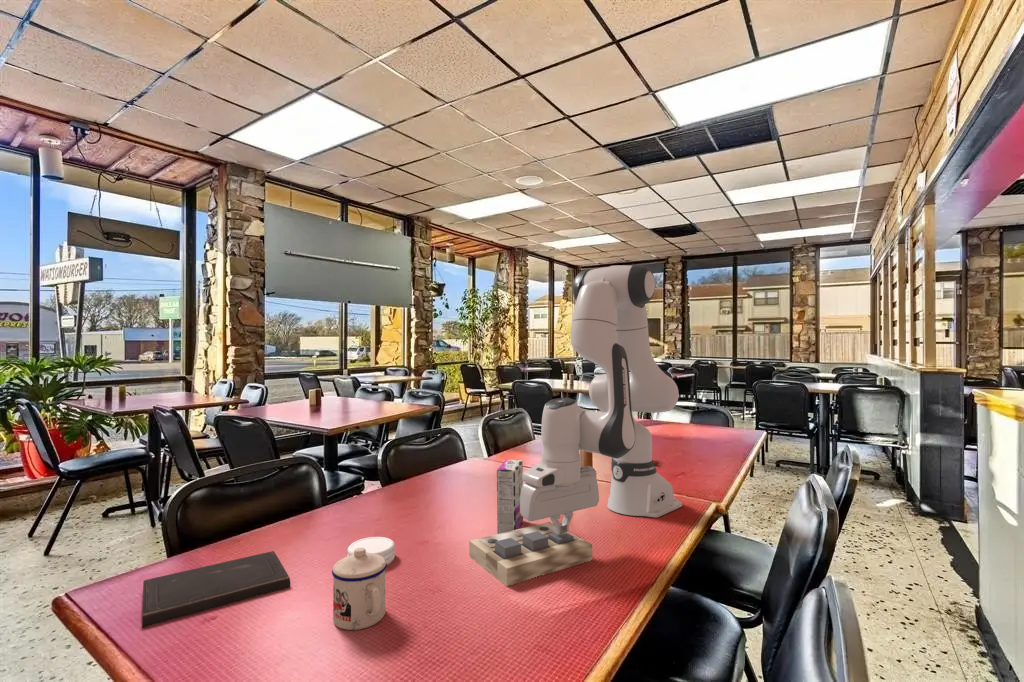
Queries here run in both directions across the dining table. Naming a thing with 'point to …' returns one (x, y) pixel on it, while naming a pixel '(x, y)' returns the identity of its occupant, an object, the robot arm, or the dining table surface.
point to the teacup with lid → (359, 590)
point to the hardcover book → (211, 587)
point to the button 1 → (507, 548)
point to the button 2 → (560, 538)
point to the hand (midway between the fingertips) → (561, 532)
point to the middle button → (535, 541)
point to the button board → (528, 555)
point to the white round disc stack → (375, 547)
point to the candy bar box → (509, 495)
